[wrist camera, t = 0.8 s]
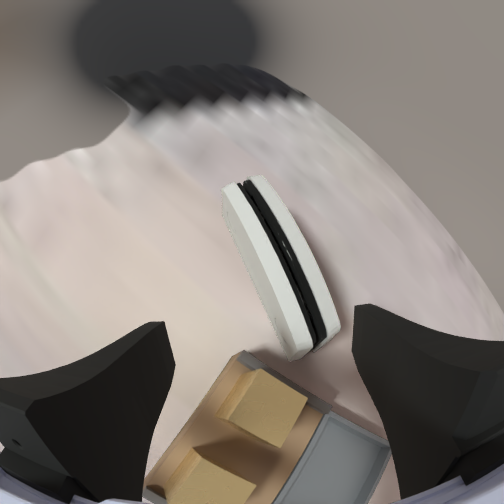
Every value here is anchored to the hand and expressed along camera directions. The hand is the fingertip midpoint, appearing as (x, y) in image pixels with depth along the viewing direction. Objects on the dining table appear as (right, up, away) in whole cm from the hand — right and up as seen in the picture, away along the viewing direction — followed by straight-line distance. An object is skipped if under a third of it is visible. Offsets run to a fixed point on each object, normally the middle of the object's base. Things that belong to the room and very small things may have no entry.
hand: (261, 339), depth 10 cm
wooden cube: (-4, -13, +5) cm, 15 cm away
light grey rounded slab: (+1, 0, +18) cm, 18 cm away
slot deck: (-2, -13, +9) cm, 16 cm away
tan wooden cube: (-1, -9, +9) cm, 13 cm away
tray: (+6, -19, +9) cm, 22 cm away
